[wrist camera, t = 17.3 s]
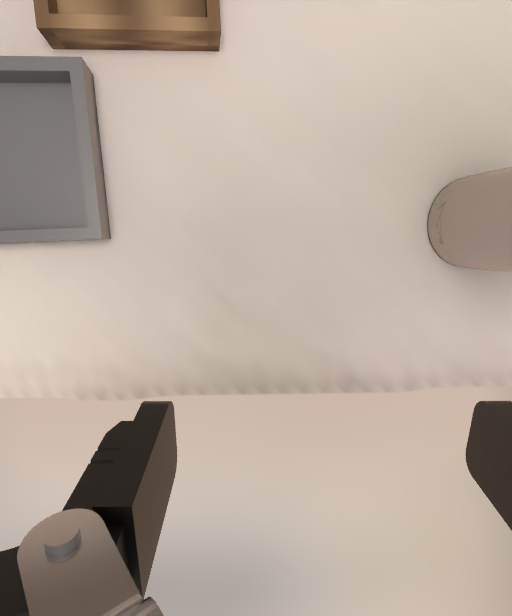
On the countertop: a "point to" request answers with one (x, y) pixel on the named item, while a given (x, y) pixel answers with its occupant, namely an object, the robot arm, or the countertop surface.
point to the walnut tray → (130, 24)
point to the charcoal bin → (50, 152)
